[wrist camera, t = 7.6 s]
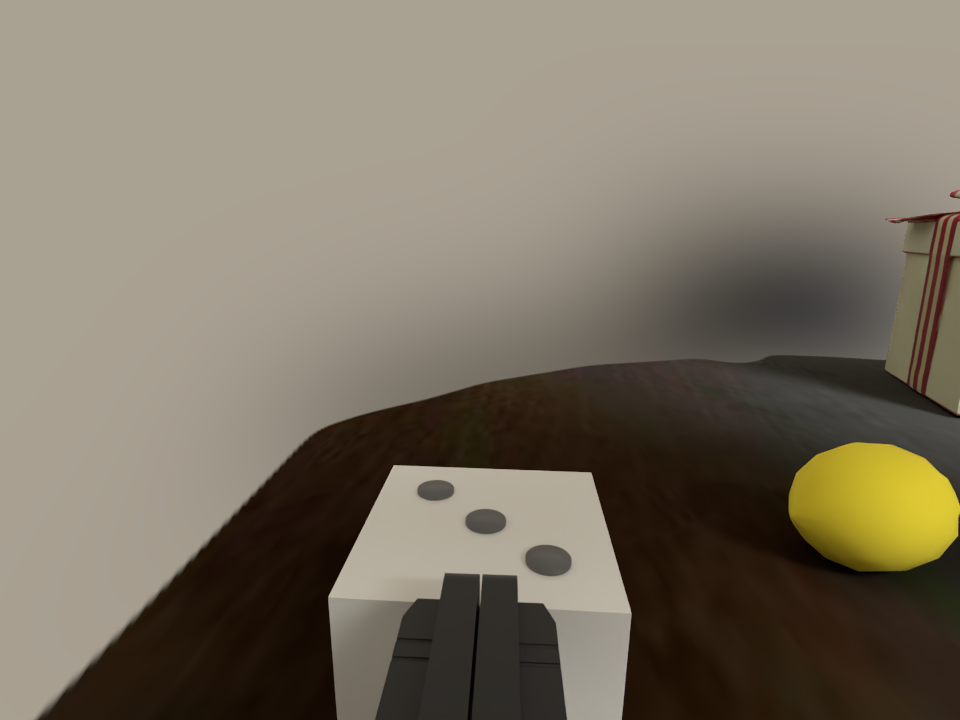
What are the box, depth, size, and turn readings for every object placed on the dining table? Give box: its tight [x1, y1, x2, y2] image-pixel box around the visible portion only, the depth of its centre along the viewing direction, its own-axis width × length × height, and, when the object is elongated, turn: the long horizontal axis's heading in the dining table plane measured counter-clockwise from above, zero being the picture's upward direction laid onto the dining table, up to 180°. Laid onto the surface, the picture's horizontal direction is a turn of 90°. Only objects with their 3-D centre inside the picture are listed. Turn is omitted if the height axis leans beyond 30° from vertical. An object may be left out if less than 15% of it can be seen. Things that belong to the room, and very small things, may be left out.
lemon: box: [789, 442, 960, 571], centre depth 23 cm, size 7×5×5 cm
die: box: [328, 465, 632, 720], centre depth 16 cm, size 6×6×7 cm
